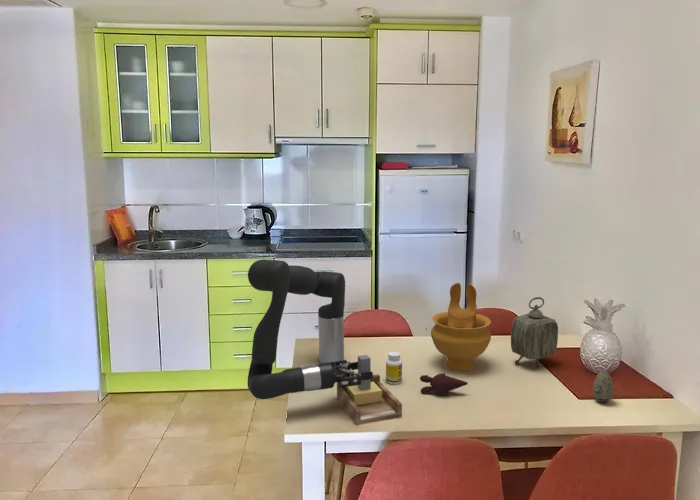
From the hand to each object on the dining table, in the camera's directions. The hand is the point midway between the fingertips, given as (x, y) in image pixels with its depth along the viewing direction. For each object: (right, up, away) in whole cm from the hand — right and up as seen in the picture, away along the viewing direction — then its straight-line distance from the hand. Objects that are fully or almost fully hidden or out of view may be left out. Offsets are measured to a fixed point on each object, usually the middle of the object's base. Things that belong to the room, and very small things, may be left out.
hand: (367, 369), depth 174 cm
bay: (0, -11, -2) cm, 11 cm away
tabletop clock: (+61, -5, +31) cm, 68 cm away
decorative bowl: (+34, -5, +31) cm, 46 cm away
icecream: (+24, -9, +8) cm, 27 cm away
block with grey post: (-1, -9, +1) cm, 9 cm away
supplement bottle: (+9, -8, +17) cm, 21 cm away
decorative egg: (+72, -10, +1) cm, 73 cm away
